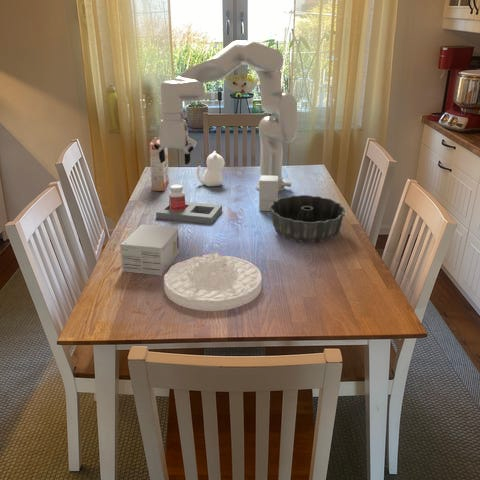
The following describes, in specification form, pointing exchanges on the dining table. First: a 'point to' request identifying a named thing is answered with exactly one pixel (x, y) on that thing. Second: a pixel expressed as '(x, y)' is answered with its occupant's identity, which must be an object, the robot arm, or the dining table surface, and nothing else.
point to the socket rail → (191, 213)
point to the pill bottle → (176, 198)
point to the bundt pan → (307, 218)
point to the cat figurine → (212, 170)
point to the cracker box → (158, 169)
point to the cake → (212, 282)
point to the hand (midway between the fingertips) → (174, 162)
